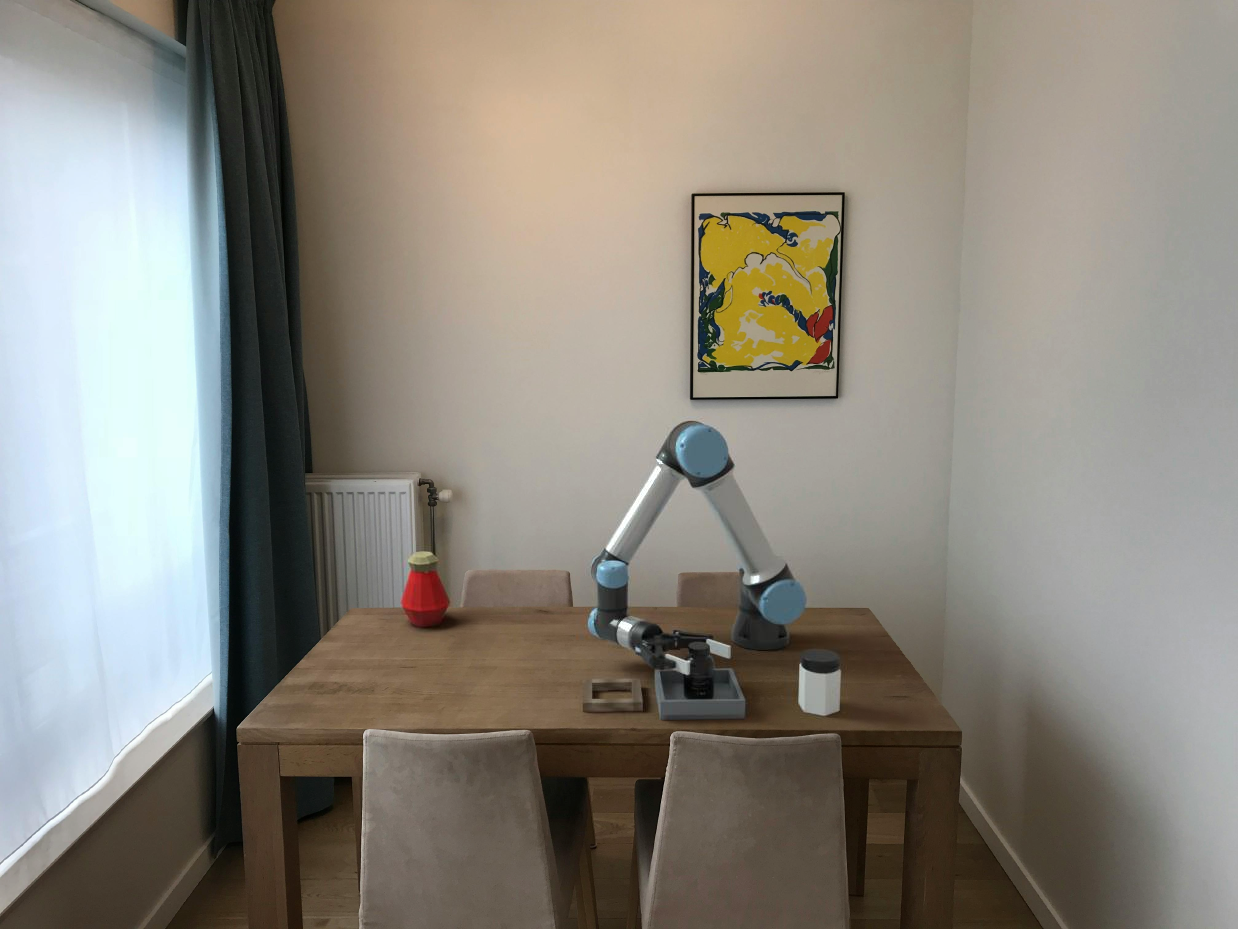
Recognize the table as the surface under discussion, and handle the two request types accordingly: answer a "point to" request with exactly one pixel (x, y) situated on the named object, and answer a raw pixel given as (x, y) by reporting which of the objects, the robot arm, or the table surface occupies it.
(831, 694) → the jar
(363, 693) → the table surface
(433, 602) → the bottle
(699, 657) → the supplement bottle
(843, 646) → the table surface
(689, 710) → the bin
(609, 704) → the socket collar
